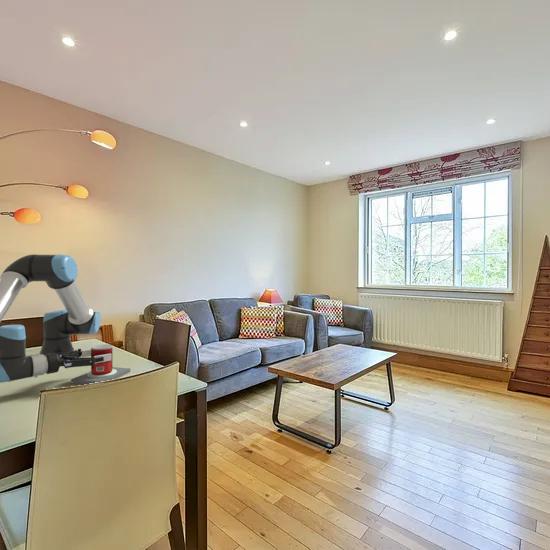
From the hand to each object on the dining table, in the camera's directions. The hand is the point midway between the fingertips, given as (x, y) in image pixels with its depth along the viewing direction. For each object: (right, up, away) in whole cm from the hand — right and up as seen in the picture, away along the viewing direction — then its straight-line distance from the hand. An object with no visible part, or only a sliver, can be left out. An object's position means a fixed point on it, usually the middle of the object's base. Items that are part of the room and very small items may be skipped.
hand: (104, 353), depth 142 cm
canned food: (-1, -8, 0) cm, 8 cm away
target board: (-1, -10, 0) cm, 10 cm away
